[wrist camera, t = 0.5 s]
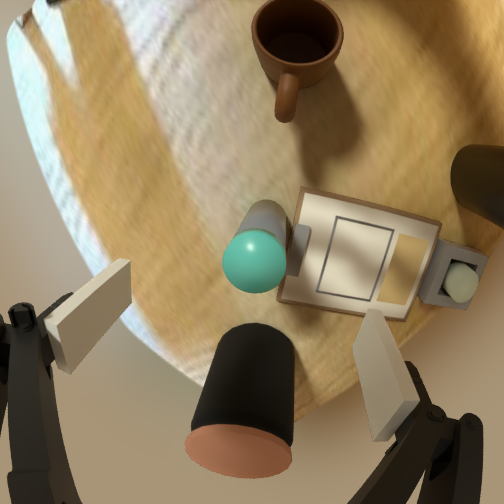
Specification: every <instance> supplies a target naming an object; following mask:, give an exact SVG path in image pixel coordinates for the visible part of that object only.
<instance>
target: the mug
mask: <svg viewBox="0 0 504 504" xmlns="http://www.w3.org/2000/svg"><path fill="white" fill-rule="evenodd" d="M251 30H252V40H253V44H254V47H255V50H256V53H257V56H258V58H259V61H260V63H261V66H262V68H263V70H264V71H265V73H266V74H267V75H268V76H269V78H271V79H272V80H273V81H275V82H276V83H278V90H277V95H276V102H275V117H276V119H277V120H278V121H279V122H282V123H288V122H290V121H291V120H292V119H293V118H294V115H295V109H296V103H297V97H298V91H299V88H306V87H310V86H312V85H314V84H316V83H318V82H319V81H321V80H322V79H323V78H324V77H325V76H326V74H327V73H328V71H329V70H330V68H331V66H332V65H333V63H334V61H335V60H336V58H337V56H338V54H339V52H340V49H341V46H342V43H343V38H344V32H343V26H342V23H341V21H340V19H339V17H338V16H337V14H336V13H335V12H334V11H333V10H332V9H331V8H330V7H329V6H328V5H326V4H325V3H323V2H322V1H320V0H269V1H268V2H266V3H265V4H264V5H262V6H261V7H260V8H259V9H258V11H257V12H256V14H255V16H254V18H253V21H252V26H251Z"/></svg>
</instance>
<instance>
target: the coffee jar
mask: <svg viewBox="0 0 504 504" xmlns="http://www.w3.org/2000/svg"><path fill="white" fill-rule="evenodd" d="M294 367H295V357H294V349H293V346H292V345H291V343H290V341H289V339H288V338H287V337H286V336H285V335H284V334H283V333H281V332H280V331H279V330H277V329H275V328H273V327H271V326H269V325H265V324H260V323H248V324H243V325H240V326H237V327H234V328H232V329H231V330H229V331H228V332H227V333H226V334H224V335H223V336H222V338H221V340H220V342H219V343H218V346H217V349H216V352H215V355H214V358H213V361H212V364H211V367H210V370H209V373H208V375H207V378H206V381H205V384H204V387H203V390H202V393H201V396H200V399H199V402H198V405H197V408H196V411H195V414H194V417H193V419H192V422H191V433H190V435H189V436H188V437H187V439H186V441H185V450H186V452H187V454H188V455H189V457H190V458H191V459H192V460H194V461H195V462H196V463H198V464H199V465H200V466H202V467H204V468H206V469H208V470H210V471H213V472H216V473H219V474H222V475H226V476H231V477H237V478H253V479H255V478H264V477H270V476H273V475H277V474H280V473H281V472H283V471H285V470H286V469H288V467H289V465H290V464H291V462H292V454H291V448H290V447H291V445H292V442H293V429H294Z"/></svg>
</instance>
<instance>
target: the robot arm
mask: <svg viewBox="0 0 504 504" xmlns="http://www.w3.org/2000/svg"><path fill="white" fill-rule="evenodd" d="M131 303H132V298H131V264H130V260H125V259H121V258H118V259H117V260H116V261H114V262H113V263H112V264H110V265H109V266H108V267H107V268H105V269H104V270H103V271H101V272H100V273H99V274H98V275H96V276H95V277H94V278H93V279H92V280H90V281H89V282H88V283H86V284H85V285H84V286H83V287H81V288H80V289H79V290H78V291H76V292H75V293H72V292H71V293H68V294H66V295H63V296H62V297H61V298H60V299H58V300H57V301H56V302H55V303H53V304H52V305H51V306H50V307H48V308H47V309H46V310H45V311H44V312H43V313H41V314H40V315H39V316H38V317H37V318H36V315H35V311H34V306H33V305H31V304H29V303H23V302H22V303H18V304H15V305H13V306H12V307H11V308H10V309H9V311H8V314H9V318H10V321H11V324H12V325H11V324H6V323H4V320H3V317H2V315H1V314H0V435H1V429H2V424H3V419H4V415H5V410H6V406H7V402H8V427H9V440H10V449H11V459H12V468H13V469H12V471H11V472H9V473H8V475H7V482H8V488H9V493H10V498H11V503H12V504H82V502H81V500H80V498H79V496H78V493H77V490H76V487H75V484H74V480H73V477H72V474H71V470H70V467H69V463H68V459H67V455H66V451H65V447H64V443H63V438H62V433H61V429H60V423H59V418H58V411H57V405H56V398H55V390H54V381H53V372H52V367H51V363H52V362H53V361H54V360H55V361H56V364H57V367H58V368H59V369H60V370H62V371H64V372H66V373H68V374H71V373H72V372H73V371H74V369H76V367H77V366H78V365H79V364H80V362H81V361H82V360H83V359H84V357H85V356H86V355H87V354H88V353H89V351H90V350H91V349H92V348H93V347H94V346H95V344H96V343H97V342H98V341H99V340H100V338H101V337H102V336H103V335H104V334H105V333H106V331H107V330H108V329H109V328H110V327H111V326H112V325H113V323H114V322H115V321H116V320H117V319H118V318H119V317H120V315H121V314H122V313H123V312H124V311H125V310H126V309H127V308H128V306H129V305H130V304H131ZM352 351H353V355H354V359H355V363H356V367H357V371H358V375H359V380H360V384H361V388H362V393H363V397H364V402H365V406H366V411H367V416H368V421H369V426H370V431H371V436H372V441H388V440H389V439H390V438H391V437H392V436H393V434H394V433H395V437H396V441H395V442H394V443H393V444H392V446H391V447H390V448H389V449H388V450H387V451H386V452H385V454H386V455H385V456H384V458H383V459H382V461H381V462H380V463H379V465H378V466H377V467H376V469H375V470H374V471H373V473H372V474H371V475H370V477H369V478H368V479H367V480H366V482H365V483H364V484H363V486H362V487H361V488H360V489H359V490H358V491H357V493H356V494H355V495H354V496H353V498H352V499H351V500H350V501H349V502H348V503H347V504H406V503H407V501H408V499H409V498H410V496H411V494H412V493H413V491H414V489H415V487H416V485H417V484H418V482H419V480H420V478H421V477H422V475H423V473H424V471H425V474H424V478H423V483H422V486H421V490H420V494H419V498H418V501H417V504H479V503H480V494H481V485H482V470H483V425H482V422H481V420H480V419H479V418H478V417H477V416H476V415H474V414H472V413H466V414H464V415H463V416H462V417H461V418H460V419H459V420H456V419H452V418H448V417H447V416H446V413H445V412H444V410H443V409H441V408H440V407H439V406H436V405H434V404H432V402H431V400H430V398H429V395H428V393H427V391H426V388H425V386H424V384H423V381H422V379H421V378H420V375H419V372H418V370H417V368H416V367H415V366H414V365H413V364H412V363H411V362H410V361H404V360H403V357H402V355H401V353H400V351H399V348H398V346H397V344H396V342H395V339H394V337H393V335H392V333H391V331H390V329H389V327H388V324H387V322H386V320H385V318H384V316H383V314H382V312H381V310H377V309H371V308H368V310H367V312H366V315H365V317H364V320H363V322H362V325H361V327H360V330H359V332H358V334H357V337H356V339H355V341H354V344H353V346H352ZM425 469H426V470H425Z"/></svg>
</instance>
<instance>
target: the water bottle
mask: <svg viewBox="0 0 504 504" xmlns="http://www.w3.org/2000/svg"><path fill="white" fill-rule="evenodd" d="M451 186H452V190H453V193H454V195H455V197H456V199H457V200H458V202H459V203H460V204H461V205H462V206H464V207H465V208H467V209H469V210H471V211H473V212H474V213H476V214H478V215H480V216H482V217H483V218H485V219H487V220H489V221H491V222H492V223H494V224H496V225H497V226H499V227H501V228H502V229H504V146H493V145H473V144H472V145H467V146H465V147H463V148H462V149H461V150H460V151H459V152H458V153H457V155H456V156H455V158H454V160H453V163H452V167H451Z"/></svg>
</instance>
